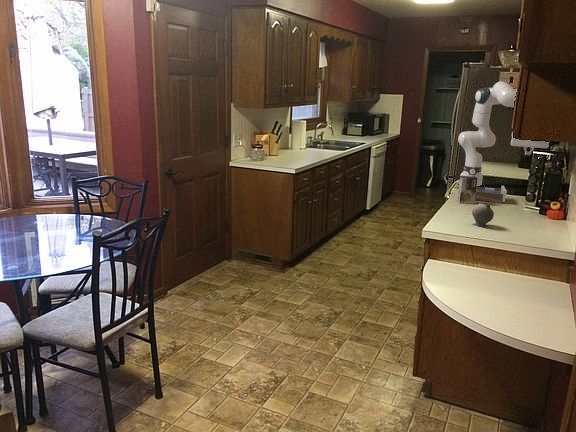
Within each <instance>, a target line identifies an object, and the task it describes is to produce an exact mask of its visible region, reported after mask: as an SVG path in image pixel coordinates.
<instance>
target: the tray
mask: <svg viewBox="0 0 576 432" xmlns="http://www.w3.org/2000/svg"><path fill="white" fill-rule="evenodd" d="M500 189H501V191H496V190H494V193H500V194H503V197H502V203H505V202H506V196H507V194H508V190H507V189H506V188H505V186H504V185H501V187H500ZM477 191H480V192H485V189H477Z"/></svg>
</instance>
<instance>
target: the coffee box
mask: <svg viewBox="0 0 576 432" xmlns="http://www.w3.org/2000/svg"><path fill="white" fill-rule="evenodd" d="M477 179H478V178H477V177H475V176H460V175H459V180H458V182H459V185H458V191H457V197H456V201H457V203H458V204H469V205H470V204H471V205H475V202H476V201H475V194H476V186H477Z"/></svg>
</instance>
